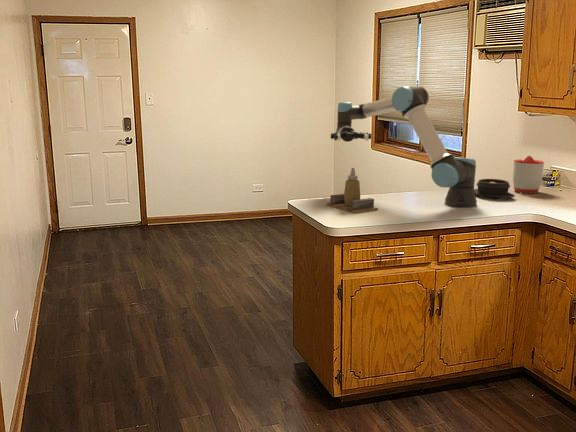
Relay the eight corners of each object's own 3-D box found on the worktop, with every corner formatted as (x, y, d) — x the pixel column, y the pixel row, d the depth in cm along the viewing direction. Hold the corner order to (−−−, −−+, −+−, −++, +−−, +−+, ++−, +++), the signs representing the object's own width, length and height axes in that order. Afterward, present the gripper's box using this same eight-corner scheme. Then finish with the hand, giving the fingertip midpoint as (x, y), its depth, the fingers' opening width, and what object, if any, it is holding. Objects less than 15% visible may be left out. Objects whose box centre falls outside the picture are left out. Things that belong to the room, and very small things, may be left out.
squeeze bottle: (341, 203, 304) (343, 166, 300) (358, 203, 305) (359, 166, 301) (344, 207, 296) (346, 169, 292) (361, 207, 297) (363, 169, 293)
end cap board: (378, 210, 295) (378, 199, 294) (355, 213, 288) (355, 202, 287) (348, 201, 313) (348, 192, 312) (326, 204, 306) (326, 194, 305)
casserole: (523, 199, 323) (525, 183, 321) (495, 202, 316) (497, 186, 314) (488, 191, 345) (490, 176, 343) (462, 193, 338) (463, 178, 336)
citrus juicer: (538, 189, 352) (542, 153, 348) (543, 195, 336) (547, 157, 331) (509, 188, 355) (512, 152, 351) (512, 193, 339) (515, 156, 335)
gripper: (370, 141, 327) (378, 145, 306) (322, 140, 326) (327, 145, 305) (371, 126, 325) (379, 130, 305) (323, 126, 324) (328, 130, 303)
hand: (353, 137), depth 305 cm, fingers open, 13 cm apart
